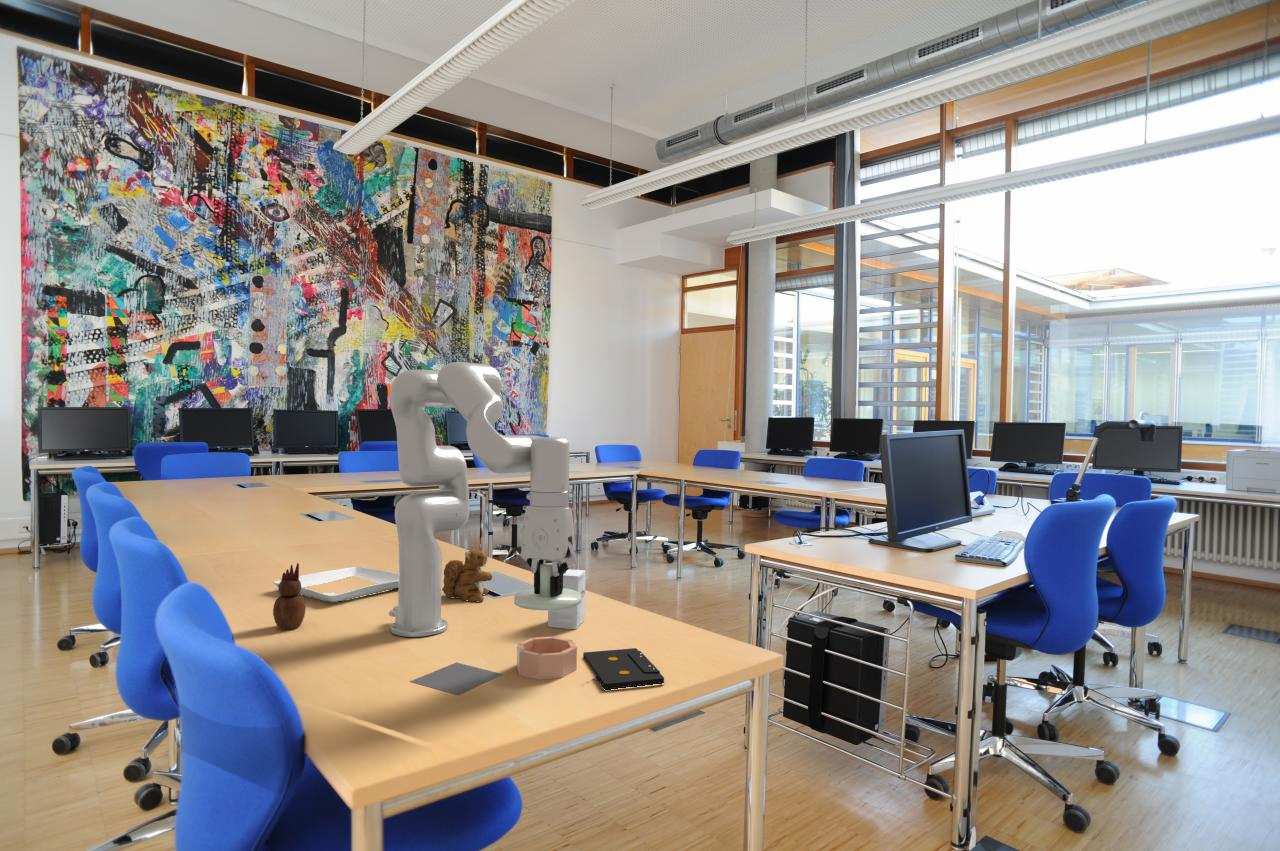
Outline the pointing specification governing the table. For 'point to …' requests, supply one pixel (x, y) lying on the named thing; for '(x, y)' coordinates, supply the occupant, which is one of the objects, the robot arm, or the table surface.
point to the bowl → (546, 657)
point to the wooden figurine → (289, 601)
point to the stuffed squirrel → (466, 577)
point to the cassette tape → (622, 668)
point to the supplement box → (575, 614)
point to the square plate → (379, 576)
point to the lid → (546, 594)
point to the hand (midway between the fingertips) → (548, 593)
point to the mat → (456, 678)
